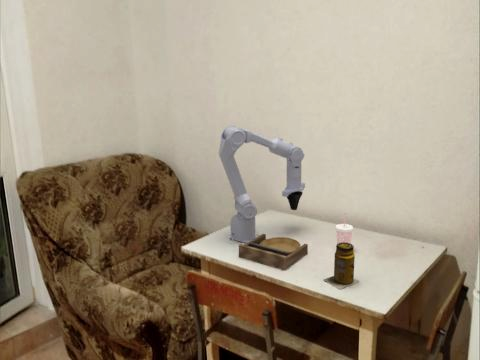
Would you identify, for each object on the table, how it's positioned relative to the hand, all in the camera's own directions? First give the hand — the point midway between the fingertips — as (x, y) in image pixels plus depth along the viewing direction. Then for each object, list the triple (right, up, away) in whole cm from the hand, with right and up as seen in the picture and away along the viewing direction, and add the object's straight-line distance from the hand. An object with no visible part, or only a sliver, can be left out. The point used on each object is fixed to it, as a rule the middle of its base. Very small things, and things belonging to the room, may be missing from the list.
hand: (293, 209), depth 180 cm
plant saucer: (-7, -14, -15) cm, 22 cm away
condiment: (+10, -20, -38) cm, 44 cm away
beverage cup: (+16, -14, -16) cm, 27 cm away
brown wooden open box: (-9, -15, -19) cm, 26 cm away
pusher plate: (-12, -16, -22) cm, 29 cm away
